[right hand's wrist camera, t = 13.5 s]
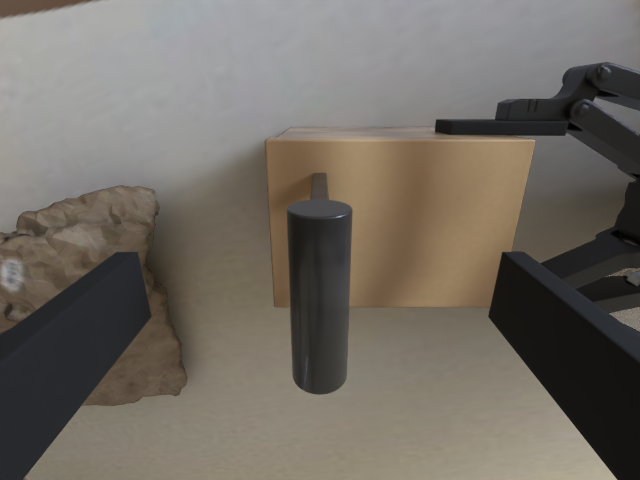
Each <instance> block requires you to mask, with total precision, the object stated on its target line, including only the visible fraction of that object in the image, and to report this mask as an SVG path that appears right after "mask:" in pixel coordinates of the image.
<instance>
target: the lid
mask: <svg viewBox="0 0 640 480" xmlns="http://www.w3.org/2000/svg"><path fill="white" fill-rule="evenodd" d="M534 146H535V140H534V139H527V138H268V139H266V140H265V152H266V170H267V188H268V205H269V223H270V241H271V258H272V276H273V293H274V306H275V307H290V317H291V344H292V370H293V379H294V381H295V383H296V384H297V386H298V387H299V388H301V389H302V390H304V391H306V392H308V393H312V394H328V393H331V392H334V391H336V390H337V389H339V388H340V387H341V386H342V385H343V384H344V382H345V380H346V376H347V353H348V325H349V307H490V306H491V302H492V297H493V292H494V288H495V283H496V278H497V274H498V269H499V264H500V260H501V255H502V252H511V250H512V246H513V241H514V237H515V232H516V228H517V223H518V219H519V214H520V210H521V205H522V200H523V196H524V191H525V187H526V182H527V178H528V173H529V169H530V164H531V160H532V155H533V151H534Z"/></svg>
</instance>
